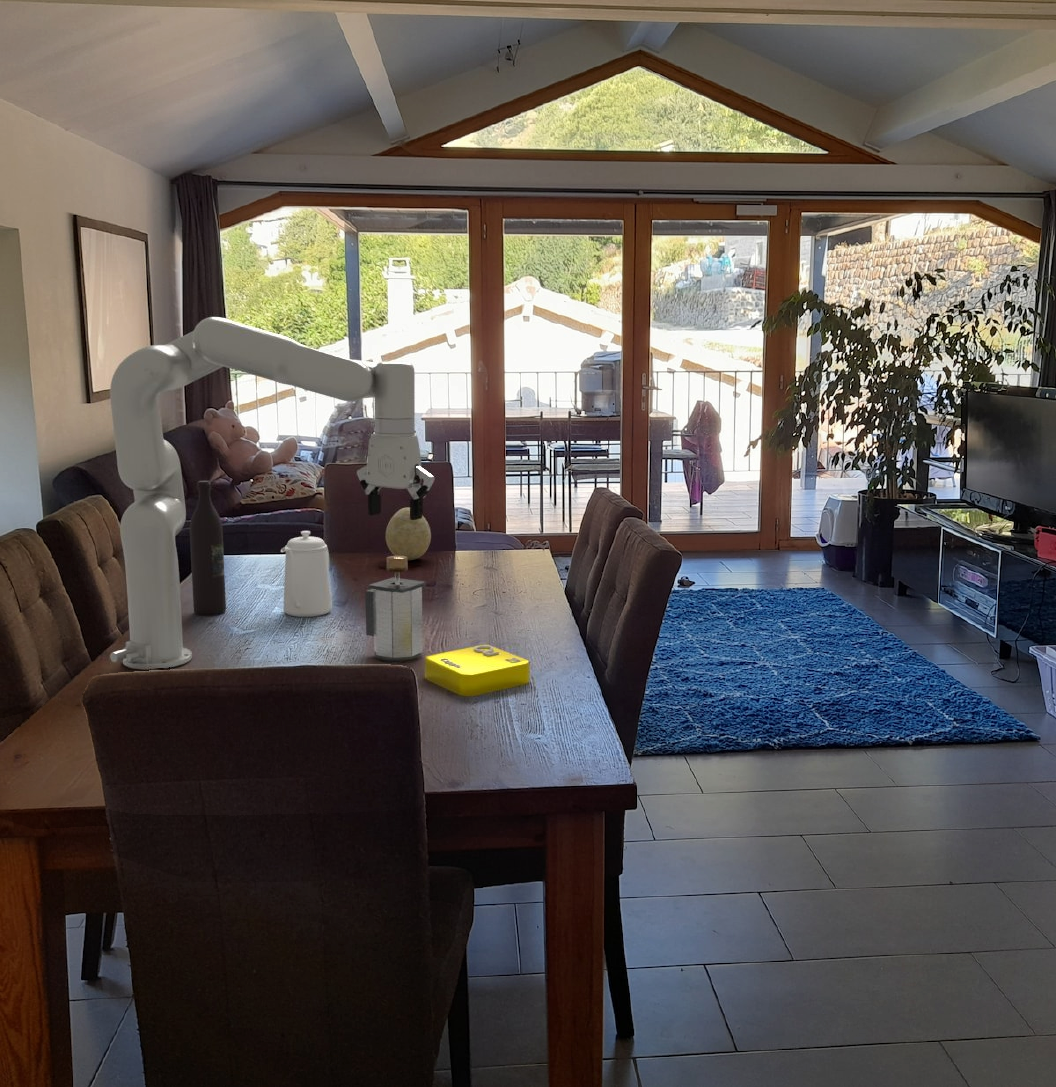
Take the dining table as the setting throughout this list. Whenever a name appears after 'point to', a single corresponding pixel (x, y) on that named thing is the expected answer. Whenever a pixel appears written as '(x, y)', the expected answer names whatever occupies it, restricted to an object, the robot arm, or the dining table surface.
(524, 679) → the element tile
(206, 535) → the wine bottle
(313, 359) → the robot arm
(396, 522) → the fossilized egg
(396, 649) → the grey faceted container
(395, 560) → the plunger
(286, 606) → the coffeepot
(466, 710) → the dining table surface
